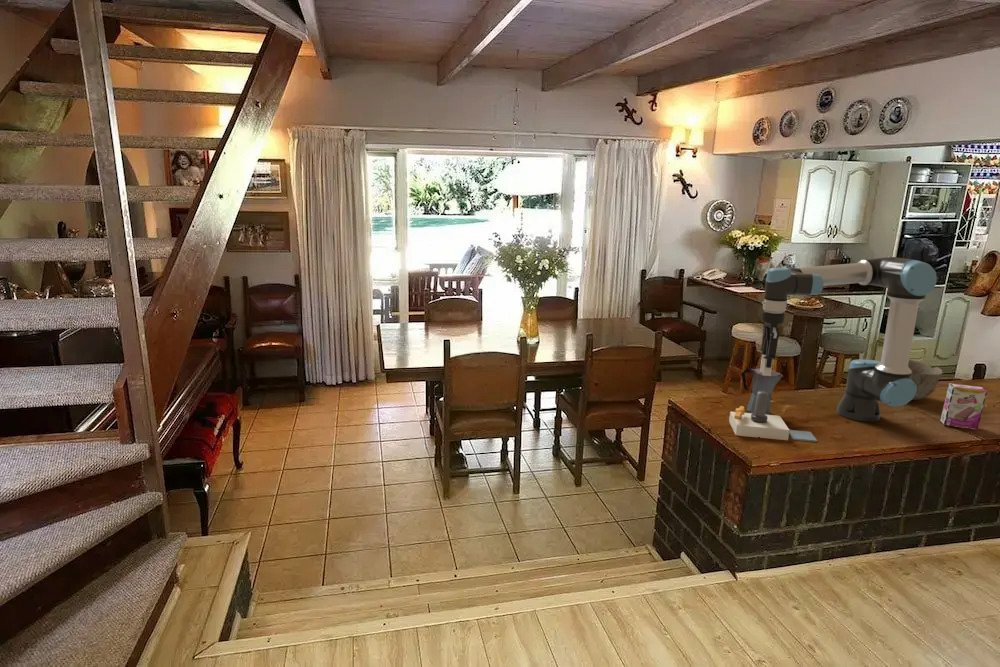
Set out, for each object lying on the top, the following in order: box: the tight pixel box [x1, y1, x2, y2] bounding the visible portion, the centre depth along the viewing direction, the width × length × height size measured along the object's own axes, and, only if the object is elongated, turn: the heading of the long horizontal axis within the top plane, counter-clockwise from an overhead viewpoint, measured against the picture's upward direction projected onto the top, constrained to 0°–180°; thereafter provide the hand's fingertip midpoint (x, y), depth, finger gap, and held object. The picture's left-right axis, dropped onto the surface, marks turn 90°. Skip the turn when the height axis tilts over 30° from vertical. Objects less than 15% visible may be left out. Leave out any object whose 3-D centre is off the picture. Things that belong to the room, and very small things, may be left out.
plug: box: [751, 391, 768, 423], centre depth 221 cm, size 6×6×15 cm
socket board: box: [728, 411, 791, 441], centre depth 222 cm, size 18×14×6 cm
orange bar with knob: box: [734, 405, 746, 420], centre depth 221 cm, size 12×3×1 cm, turn 149°
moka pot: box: [741, 367, 784, 415], centre depth 238 cm, size 10×15×20 cm, turn 78°
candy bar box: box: [939, 382, 988, 430], centre depth 229 cm, size 11×5×16 cm, turn 71°
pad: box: [789, 429, 818, 443], centre depth 218 cm, size 8×8×1 cm
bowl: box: [908, 359, 944, 401], centre depth 260 cm, size 22×22×15 cm
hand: (765, 373), depth 217 cm, fingers open, 3 cm apart
